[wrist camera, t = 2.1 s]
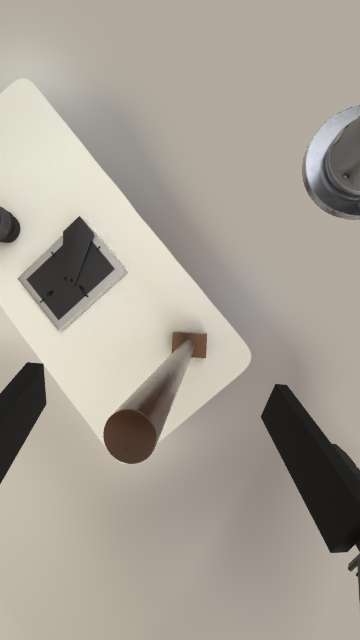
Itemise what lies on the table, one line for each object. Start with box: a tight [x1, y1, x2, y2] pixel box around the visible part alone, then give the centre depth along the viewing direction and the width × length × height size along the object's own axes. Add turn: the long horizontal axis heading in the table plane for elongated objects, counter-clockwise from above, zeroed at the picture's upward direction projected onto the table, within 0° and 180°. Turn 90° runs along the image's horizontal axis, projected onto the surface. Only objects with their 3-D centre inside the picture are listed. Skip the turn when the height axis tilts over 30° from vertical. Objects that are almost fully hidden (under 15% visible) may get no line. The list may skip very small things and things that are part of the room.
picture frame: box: [18, 216, 128, 330], centre depth 52 cm, size 16×3×21 cm
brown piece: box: [104, 331, 207, 464], centre depth 31 cm, size 7×5×40 cm
